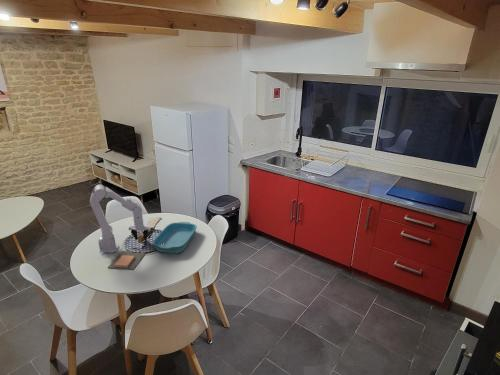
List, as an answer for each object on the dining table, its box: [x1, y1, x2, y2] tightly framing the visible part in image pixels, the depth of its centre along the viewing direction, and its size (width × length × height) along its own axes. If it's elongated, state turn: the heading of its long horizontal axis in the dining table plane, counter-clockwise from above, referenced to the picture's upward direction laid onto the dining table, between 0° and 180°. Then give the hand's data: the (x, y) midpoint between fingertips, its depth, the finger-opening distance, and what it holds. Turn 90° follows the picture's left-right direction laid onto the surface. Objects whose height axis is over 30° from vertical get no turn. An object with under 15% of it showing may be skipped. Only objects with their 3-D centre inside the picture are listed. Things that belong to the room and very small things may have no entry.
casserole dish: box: [152, 221, 197, 254], centre depth 214 cm, size 37×22×7 cm, turn 170°
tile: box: [114, 255, 135, 268], centre depth 192 cm, size 8×2×10 cm
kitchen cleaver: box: [146, 216, 162, 237], centre depth 235 cm, size 31×2×10 cm
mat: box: [107, 250, 146, 271], centre depth 195 cm, size 16×18×1 cm
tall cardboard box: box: [137, 232, 144, 244], centre depth 212 cm, size 12×6×5 cm, turn 174°
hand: (141, 239), depth 214 cm, fingers open, 6 cm apart
